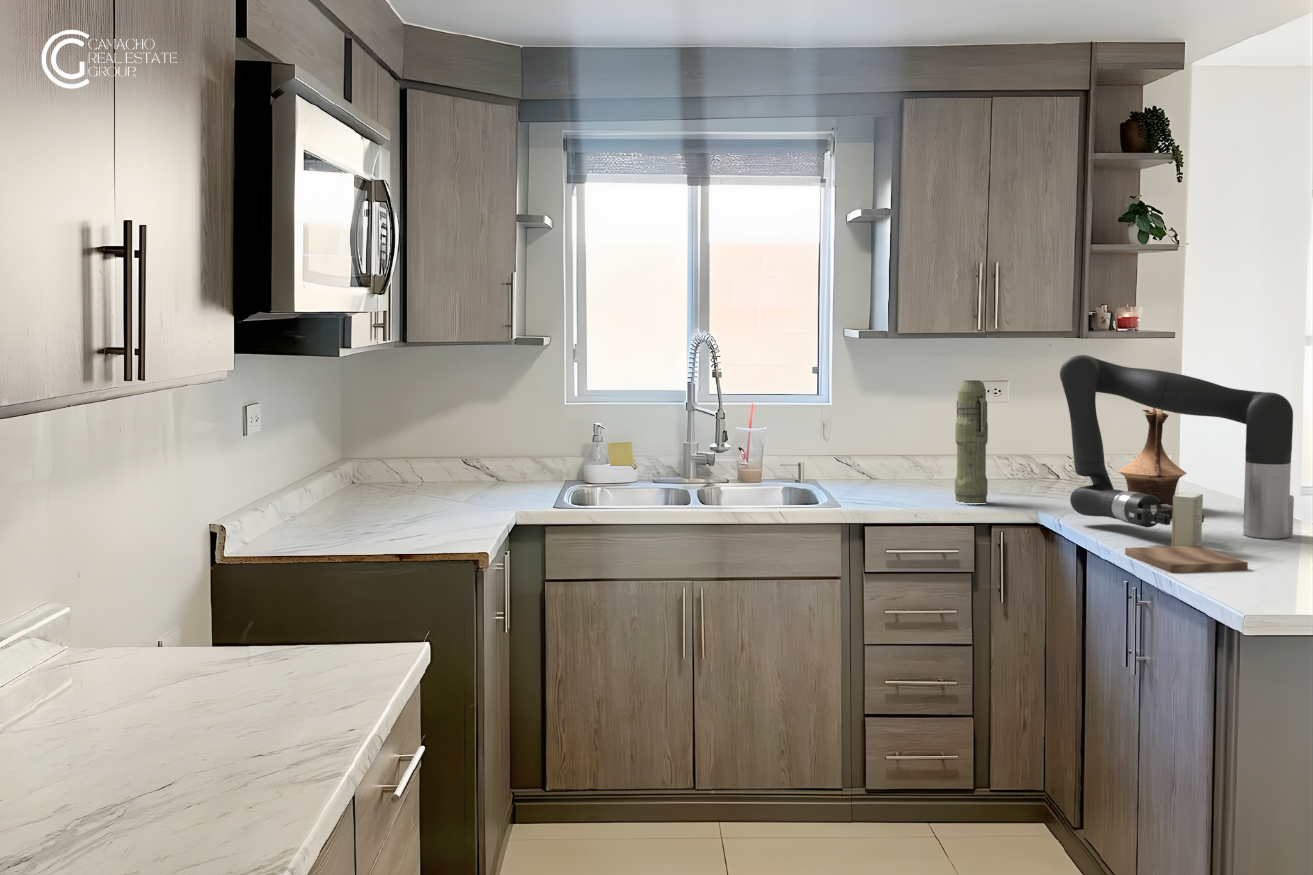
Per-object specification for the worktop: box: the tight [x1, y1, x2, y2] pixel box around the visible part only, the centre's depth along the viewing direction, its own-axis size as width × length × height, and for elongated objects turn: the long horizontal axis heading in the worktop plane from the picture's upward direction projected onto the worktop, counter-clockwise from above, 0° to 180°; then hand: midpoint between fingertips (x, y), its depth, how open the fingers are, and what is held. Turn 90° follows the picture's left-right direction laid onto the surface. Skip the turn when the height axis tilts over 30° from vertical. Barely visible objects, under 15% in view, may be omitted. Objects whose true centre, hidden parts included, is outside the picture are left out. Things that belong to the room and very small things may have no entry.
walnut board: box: [1124, 546, 1249, 573], centre depth 225 cm, size 16×18×2 cm
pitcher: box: [1117, 408, 1187, 506], centre depth 290 cm, size 18×17×28 cm
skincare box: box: [1170, 491, 1204, 547], centre depth 238 cm, size 6×4×12 cm
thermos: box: [954, 380, 989, 503], centre depth 308 cm, size 9×12×35 cm
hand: (1185, 519), depth 238 cm, fingers open, 8 cm apart
